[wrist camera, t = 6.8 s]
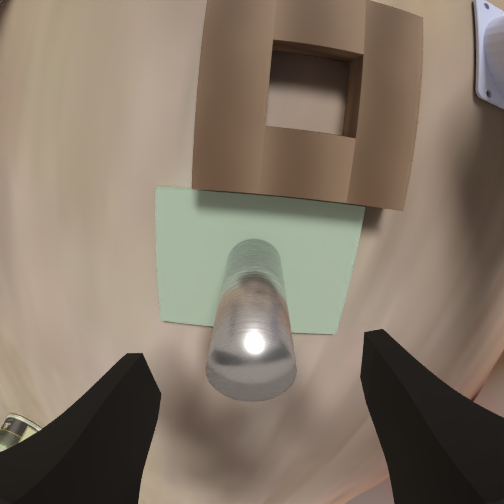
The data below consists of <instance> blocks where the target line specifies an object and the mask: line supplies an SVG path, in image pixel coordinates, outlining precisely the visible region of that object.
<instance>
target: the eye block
mask: <svg viewBox="0 0 504 504" xmlns="http://www.w3.org/2000/svg"><path fill="white" fill-rule="evenodd" d="M272 51H281V52H289V53H297V54H305V55H311V56H318V57H324V58H329V59H335V60H340V61H345V62H350V67H349V79H348V91H347V101H346V111H345V120H344V129H343V136H340V135H334V134H327V133H320V132H313V131H306V130H298V129H289V128H280V127H270V126H265V123H266V112H267V101H268V89H269V78H270V67H271V56H272ZM422 60H423V17H420V16H417V15H415V14H412V13H409V12H406V11H403V10H400V9H397V8H394V7H391V6H387V5H384V4H381V3H377V2H374V1H370V0H207V5H206V13H205V21H204V29H203V38H202V47H201V56H200V67H199V77H198V89H197V102H196V115H195V130H194V148H193V168H192V189H199V190H215V191H229V192H242V193H254V194H265V195H276V196H286V197H296V198H306V199H315V200H324V201H332V202H340V203H349V204H356V205H364V206H371V207H378V208H385V209H392V210H399V211H403V210H404V205H405V200H406V195H407V189H408V184H409V178H410V173H411V167H412V160H413V154H414V147H415V140H416V132H417V124H418V115H419V105H420V93H421V79H422Z"/></svg>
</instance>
